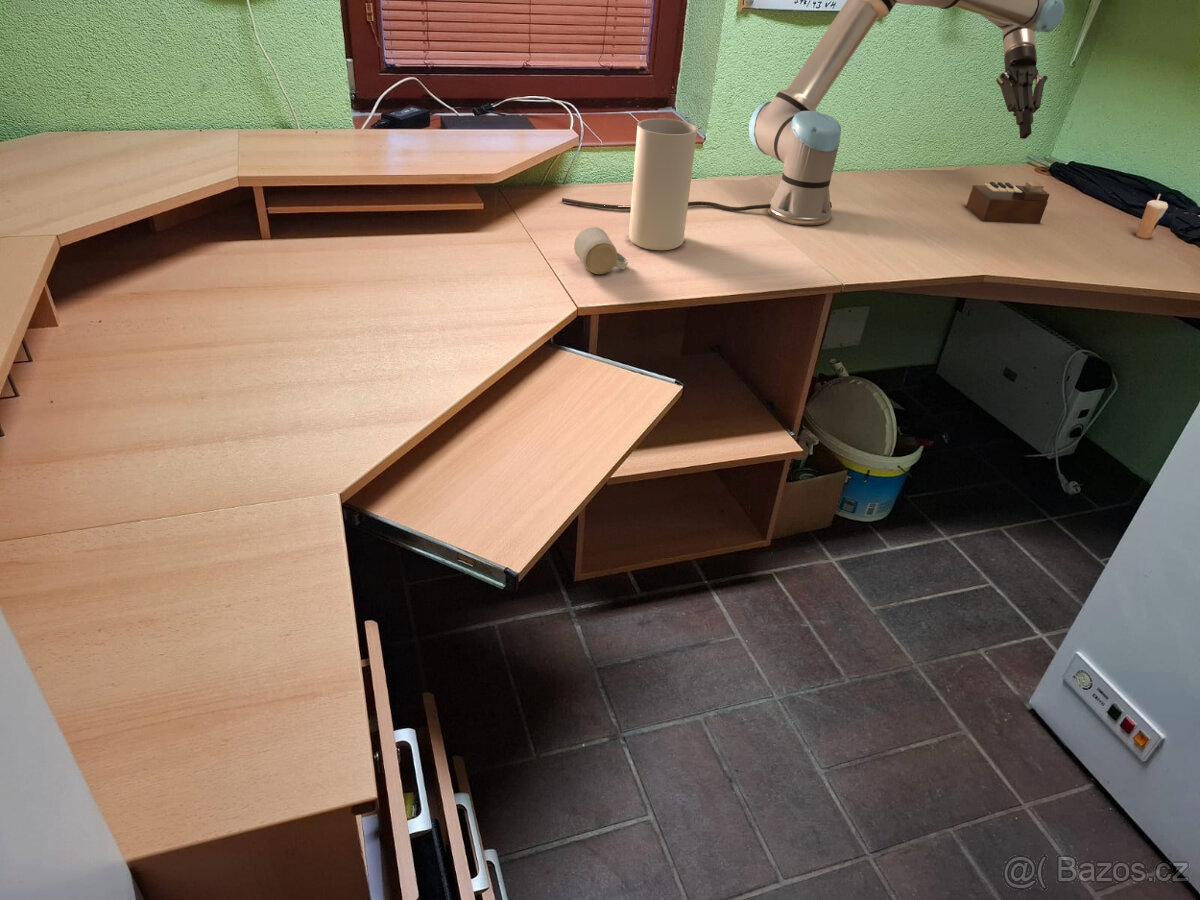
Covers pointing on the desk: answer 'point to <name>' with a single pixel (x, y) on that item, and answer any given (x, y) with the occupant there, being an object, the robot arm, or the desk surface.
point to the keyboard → (1002, 187)
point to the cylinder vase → (661, 183)
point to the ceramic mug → (597, 251)
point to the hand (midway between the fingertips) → (1025, 135)
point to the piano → (1007, 205)
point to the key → (1033, 187)
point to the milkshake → (1151, 217)
